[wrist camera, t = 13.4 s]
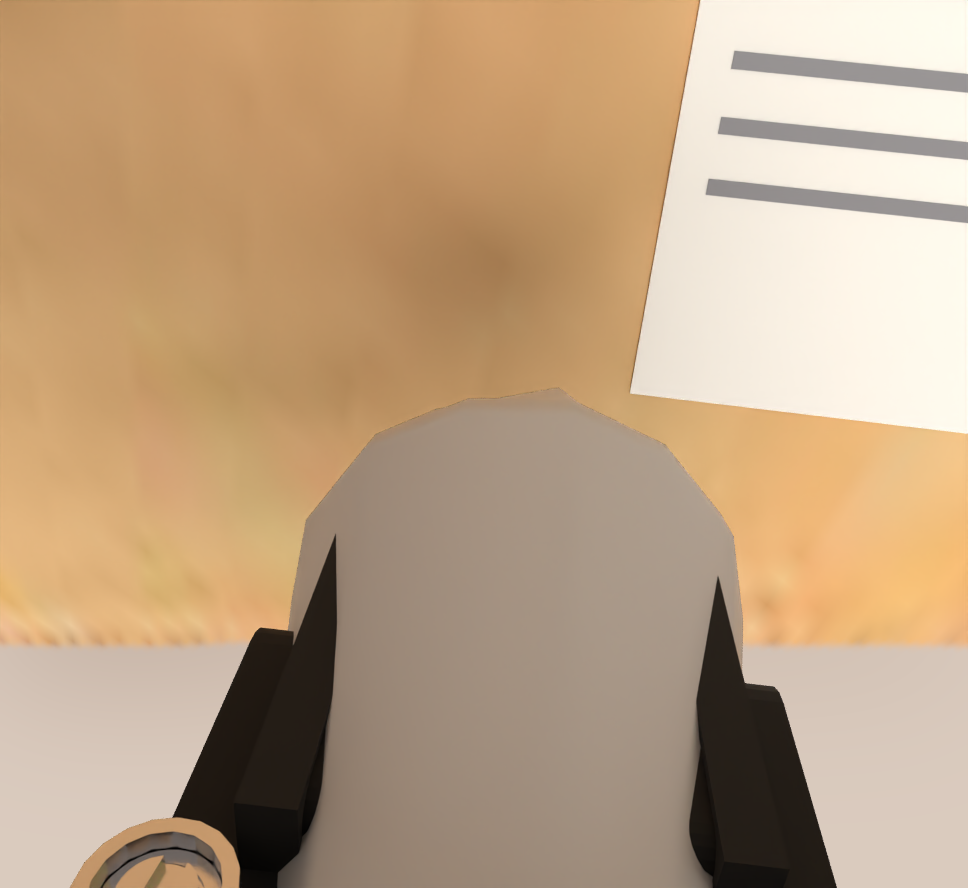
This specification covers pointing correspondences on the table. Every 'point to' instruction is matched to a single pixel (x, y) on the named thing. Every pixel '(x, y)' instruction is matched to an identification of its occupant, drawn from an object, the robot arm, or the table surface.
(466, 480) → the salt shaker
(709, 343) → the letter
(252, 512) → the table surface
